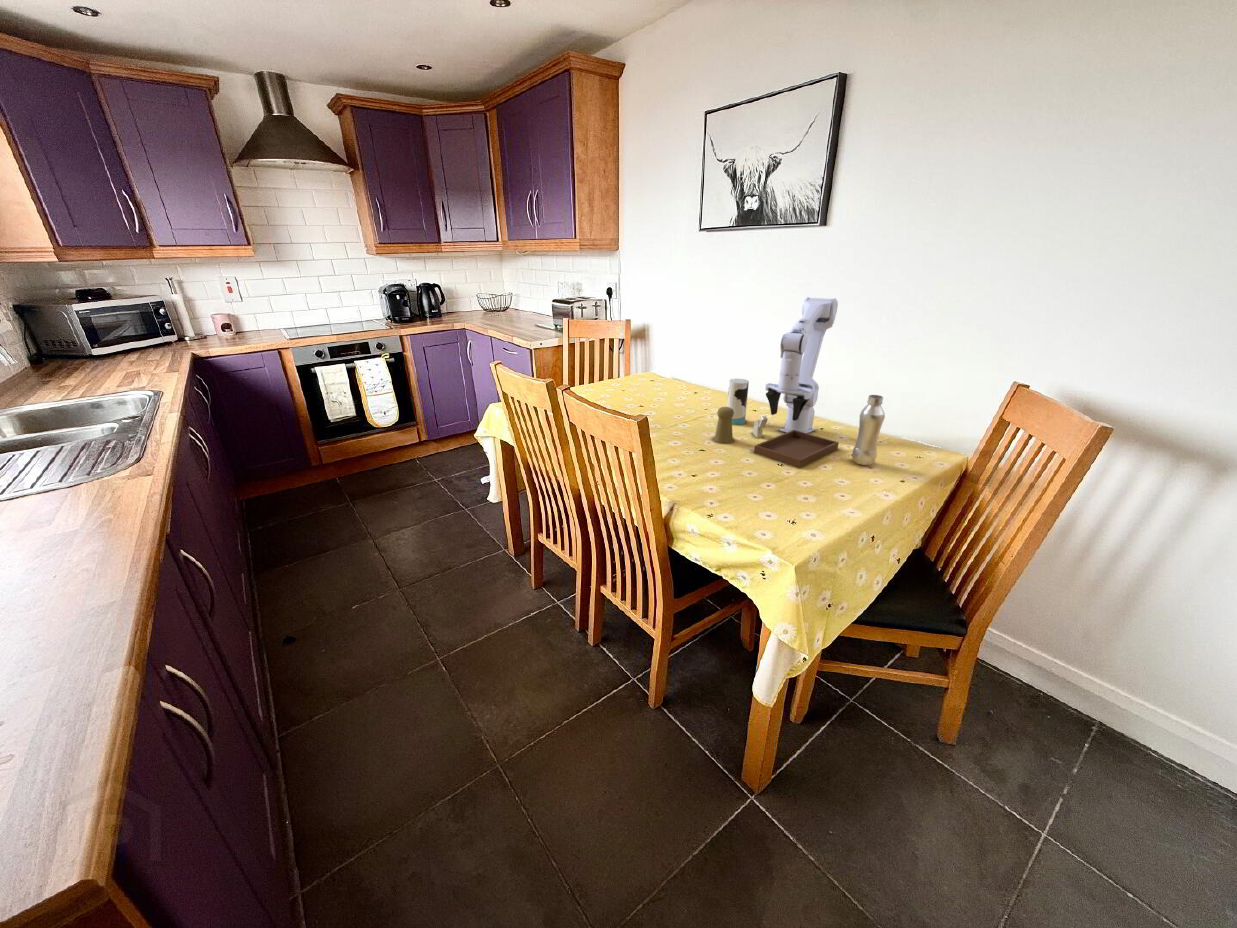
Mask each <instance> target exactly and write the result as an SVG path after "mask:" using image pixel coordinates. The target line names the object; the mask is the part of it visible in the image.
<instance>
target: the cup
mask: <svg viewBox="0 0 1237 928" xmlns="http://www.w3.org/2000/svg"><path fill="white" fill-rule="evenodd" d="M749 383H750V380H749V379H745V378H732V379H731V378H730V379H729V381H728V393H727V403H726V404H727V406H726V407H730V408H732V409H733V411H734V415H733V417H732V425H735V426H738V425H739V426H740V425H744V424H745V423H746V416H747V405H748V395H749Z"/></svg>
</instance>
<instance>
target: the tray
mask: <svg viewBox="0 0 1237 928" xmlns="http://www.w3.org/2000/svg"><path fill="white" fill-rule="evenodd" d="M838 449H839V441H836V440H832V439H828V438H825V437H821V436H817V435H814V434H811V433H804V432H800V431H797V430H792V431H790V432H787V433H786V432H784V433H782V434H779V435H777V436H774V437H772V438H770V439H767V440H765V441H763V442H760V443H757V444H755V445H754V448H753V453H754V454H757V455H759V456H763V457H765V458H769V459H771V460H774V461H776V462H779V463H782V464H783V463H784V464H786V465H788V466H792V467H794V468H797V469H800V468H802V467H805V466H806V465H807V466H808V464H811V463H813V462H814V461H817V460H819V459H821V458H823V457H825V456H827V455H829V454H831V453H834V452H835V451H837V450H838Z"/></svg>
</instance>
